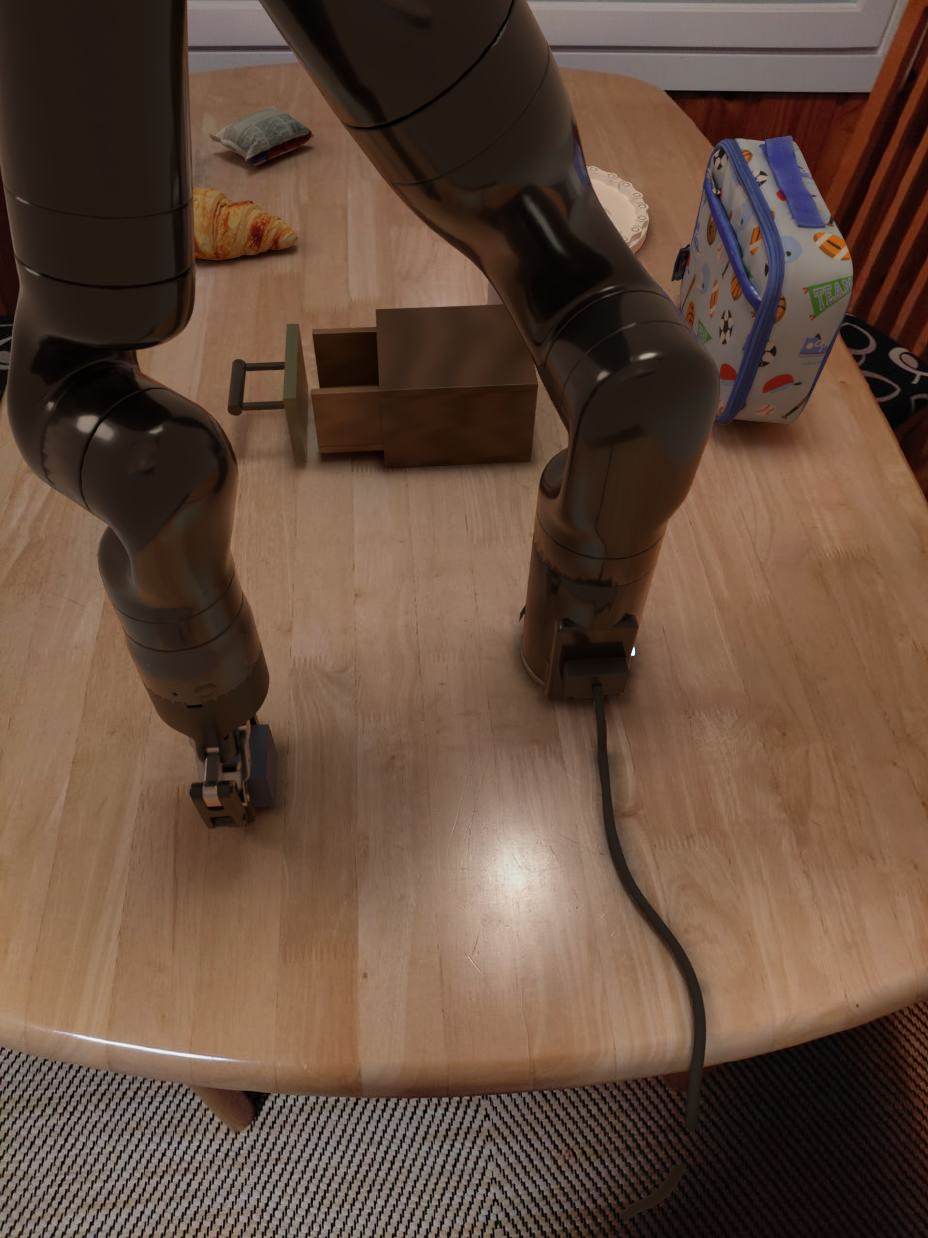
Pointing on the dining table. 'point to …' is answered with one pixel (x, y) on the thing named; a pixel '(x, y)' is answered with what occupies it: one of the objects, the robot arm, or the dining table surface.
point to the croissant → (235, 227)
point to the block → (261, 766)
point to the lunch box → (764, 279)
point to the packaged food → (263, 135)
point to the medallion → (621, 206)
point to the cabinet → (454, 386)
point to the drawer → (324, 390)
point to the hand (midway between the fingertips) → (244, 776)
